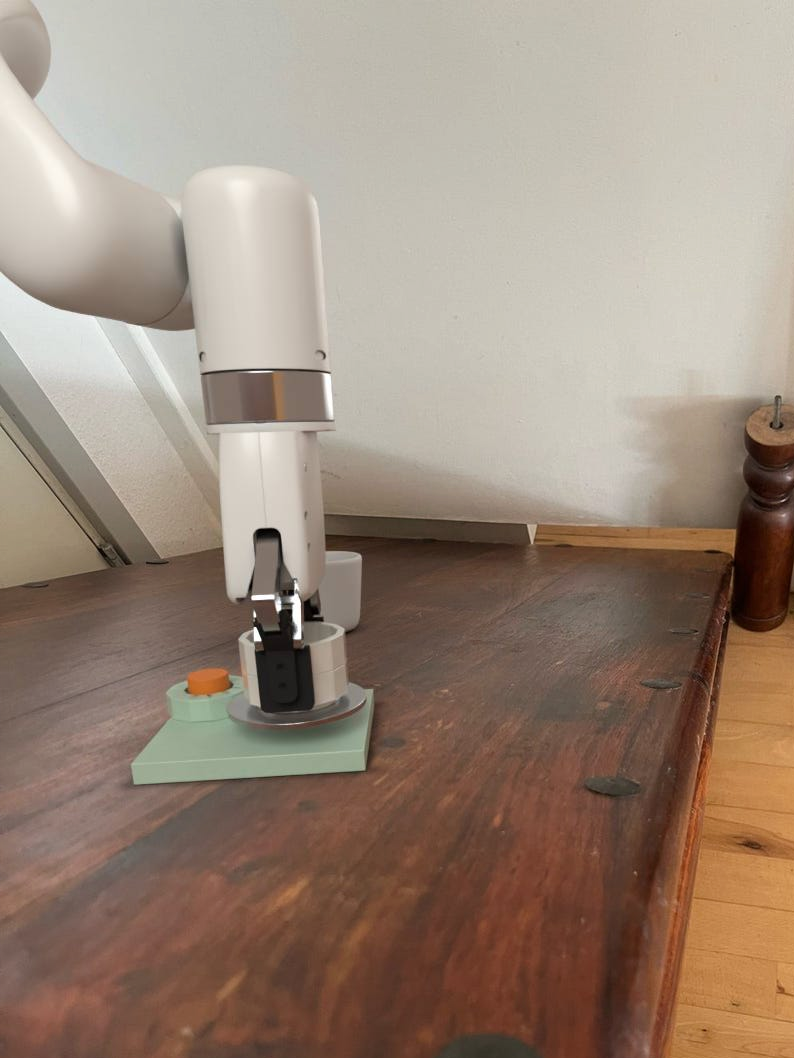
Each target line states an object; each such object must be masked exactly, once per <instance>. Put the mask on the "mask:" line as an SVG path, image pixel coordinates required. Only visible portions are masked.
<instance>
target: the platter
mask: <svg viewBox="0 0 794 1058" xmlns="http://www.w3.org/2000/svg"><path fill="white" fill-rule="evenodd" d="M364 689H365V688H363V687H361V686H360V685H358V684H356V683H354V682H350V681H349V688H348V692H347V693H346V694H344V695H343V696H341V697H340V698H339V699H338V701H336V702H335V703H333V704H331V705H329V706H327V707H324V708H321V709H318V710H313V711H308V712H302V713H265V712H263V711H262V710H261V709H259V708H258V707H257V706H254V705H251V704H250V703H249V702H248V701H247V700H246V699H245V697H244V693H242V694H240V695H238V696H236V697H235V698H233V699H232V700H231V701H230V702H229V703H228V705H227V715H228V718H229V719H230V720H231V721H232V722H234V723H236V724H238V725H241V726H244V727H248V728H254V729H262V730H292V729H302V728H309V727H315V726H320V725H324V724H328V723H332V722H335V721H338V720H341V719H344V718H346V717H349V716H351V715H353V714H355V713H356V712H358V711H359V710H360V709H361V708H363V706H364V705H365V703H366V692H365V690H364Z"/></svg>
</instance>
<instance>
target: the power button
mask: <svg viewBox="0 0 794 1058" xmlns="http://www.w3.org/2000/svg"><path fill="white" fill-rule="evenodd" d="M228 675H229V671H228V670H227V669H224V668H204V669H200V670H196V671H192V672H191V673H189V674H187V676H186V680H187V682H188V690H189V694H192V695H209V694H214V693H219V692H224V691H226V690H228V689H230V684H229V676H228Z"/></svg>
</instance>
